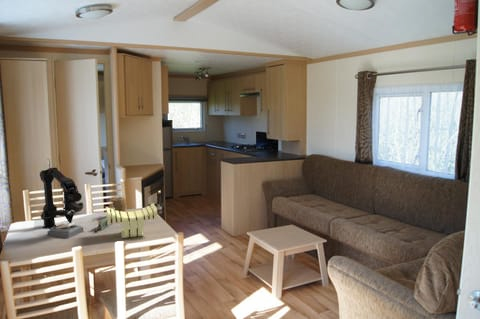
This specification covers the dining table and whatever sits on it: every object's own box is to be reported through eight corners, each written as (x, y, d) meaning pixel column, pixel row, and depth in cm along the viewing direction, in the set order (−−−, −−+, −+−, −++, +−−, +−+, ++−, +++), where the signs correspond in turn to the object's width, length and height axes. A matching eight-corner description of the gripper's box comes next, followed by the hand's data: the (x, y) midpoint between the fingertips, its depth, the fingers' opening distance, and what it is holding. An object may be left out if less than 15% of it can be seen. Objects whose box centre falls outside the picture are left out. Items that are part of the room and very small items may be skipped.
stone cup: (111, 216, 302) (110, 196, 300) (127, 214, 308) (127, 194, 306) (115, 221, 289) (114, 200, 287) (132, 219, 294) (131, 199, 292)
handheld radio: (116, 222, 287) (98, 233, 262) (112, 222, 287) (93, 233, 263) (116, 213, 286) (97, 223, 261) (111, 213, 286) (92, 223, 262)
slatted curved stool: (108, 241, 247) (107, 213, 245) (107, 233, 262) (106, 206, 259) (157, 235, 257) (156, 208, 255) (154, 228, 272) (153, 202, 270)
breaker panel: (47, 235, 257) (47, 229, 256) (63, 229, 270) (62, 222, 270) (68, 238, 253) (68, 231, 252) (83, 231, 266) (82, 224, 265)
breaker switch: (56, 229, 259) (55, 227, 259) (62, 226, 265) (62, 224, 265) (68, 226, 256) (67, 224, 256) (74, 223, 262) (74, 221, 262)
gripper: (69, 203, 246) (70, 228, 248) (88, 196, 264) (90, 219, 266) (54, 202, 249) (55, 226, 251) (74, 195, 267) (76, 218, 269)
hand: (70, 222), depth 259 cm, fingers closed
